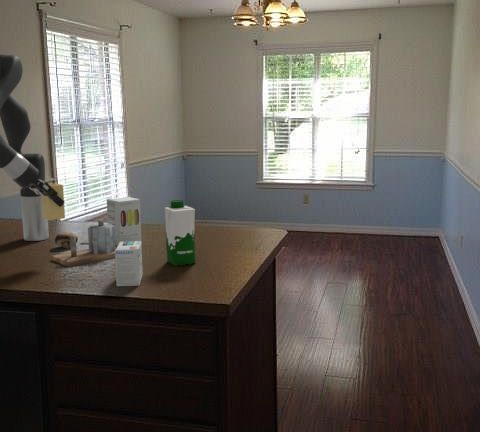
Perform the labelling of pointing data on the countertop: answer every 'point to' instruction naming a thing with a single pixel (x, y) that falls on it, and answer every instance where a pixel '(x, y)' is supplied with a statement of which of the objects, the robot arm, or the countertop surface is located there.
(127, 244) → the light bulb box
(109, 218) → the supplement box
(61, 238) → the mushroom
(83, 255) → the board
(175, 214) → the milk carton
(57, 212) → the yellow rectangular block
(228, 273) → the countertop surface
